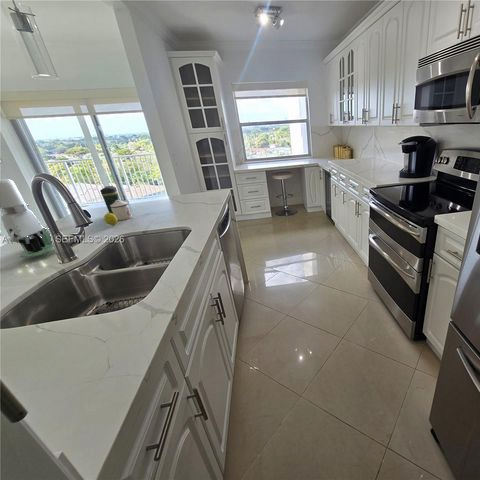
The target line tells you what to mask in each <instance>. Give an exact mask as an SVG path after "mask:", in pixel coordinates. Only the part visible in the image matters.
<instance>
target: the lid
mask: <svg viewBox="0 0 480 480" xmlns="http://www.w3.org/2000/svg"><path fill="white" fill-rule="evenodd" d="M28 239H29V241H30V243H32V244H33V246H34V247H35V249H36V251H34V252H28V251H27V250H26V251H24V250H23V251H21V252H20V253H19V254H18V257H19V258H26V259H27V258H34V257H39V256H41V255H46V254H47V253H50V252H52V251H54V250H55V249H54V248H53V245H46V246H45V247H42V245H41V243H40V242H39V240H38V238H37V237H36V236H34V237H29V238H28Z"/></svg>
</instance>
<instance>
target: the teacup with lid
mask: <svg viewBox="0 0 480 480" xmlns="http://www.w3.org/2000/svg"><path fill="white" fill-rule="evenodd" d="M110 208H111V209H112V211H113V214H114V215H115V216H116V218H117V221H124V220H129V219H131V218H132V217H133V214H132V212H131V208H130V206H129V203H128V201H122V200H121V201H119V200H115V202H114V203H113V204H112V205H110Z"/></svg>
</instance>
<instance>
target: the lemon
mask: <svg viewBox="0 0 480 480" xmlns="http://www.w3.org/2000/svg"><path fill="white" fill-rule="evenodd" d="M103 219H104V222H105V223H106V225H109V226H112V227H114V226H115V225H116V224H117V223H118V220H117V218H116V216H115V215H114V214H112V213H109V212H107V213H106V214H105V215H104V217H103Z"/></svg>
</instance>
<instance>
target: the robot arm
mask: <svg viewBox="0 0 480 480" xmlns="http://www.w3.org/2000/svg"><path fill="white" fill-rule="evenodd" d="M29 206H30V205H29V203H26V201H25V200H24V198H23V196H22V194H21V192H20V191H19V188H18V187H17V185H16V183H15V182H14V180H12V179H9V178H0V213H1V214H2V215H1V218H0V219H1V222H2V226H3V227H4V229H5V232H6V233H7V235H8V237H9V238H10V239H9V241H10V242H12V243H18V244H20V243H21V244H23V245H24V246H25V248H26V250H27V251H28V252H34V251H36V249H35V247H34V246H33V244H32V243H30V241H29V239H28V236H29V235H32V236H33V237H34V236H36V237H37V238H38V240H39V242H40V243H41V245H42V247H45V246H46V245H45V244H44V242H43V240H42V238H43V236H42V235H43V232H44V231H45V228H46V227H44V226H43V225H42V223H41V222H40V220H39V218H37V215H35V214H34V212H33V211H32V210H31V209H29ZM17 237H18V238H19V239H17ZM23 238H24V239H23ZM21 244H20V245H21Z"/></svg>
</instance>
